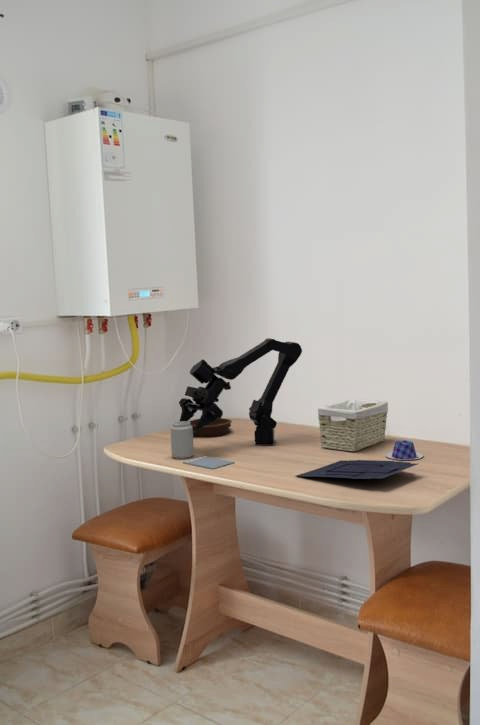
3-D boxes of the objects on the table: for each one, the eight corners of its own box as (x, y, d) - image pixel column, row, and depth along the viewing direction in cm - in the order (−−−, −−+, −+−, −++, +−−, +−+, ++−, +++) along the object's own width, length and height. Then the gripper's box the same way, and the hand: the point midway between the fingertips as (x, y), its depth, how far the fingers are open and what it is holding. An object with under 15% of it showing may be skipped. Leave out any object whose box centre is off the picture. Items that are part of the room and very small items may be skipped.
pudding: (428, 460, 246) (428, 444, 245) (392, 463, 244) (391, 447, 244) (415, 452, 258) (415, 437, 257) (381, 454, 256) (381, 439, 256)
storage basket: (351, 436, 285) (351, 397, 284) (390, 441, 275) (390, 400, 273) (316, 448, 267) (315, 407, 265) (357, 454, 257) (356, 411, 255)
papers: (379, 489, 210) (378, 476, 210) (295, 485, 231) (293, 473, 230) (424, 471, 228) (422, 459, 227) (342, 468, 248) (340, 457, 248)
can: (190, 459, 256) (189, 424, 255) (169, 459, 258) (167, 424, 256) (196, 454, 264) (194, 420, 262) (175, 454, 265) (173, 420, 264)
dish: (245, 432, 300) (244, 419, 299) (203, 441, 285) (202, 428, 284) (215, 426, 313) (214, 414, 312) (173, 435, 297) (172, 423, 297)
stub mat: (234, 463, 250) (234, 461, 250) (213, 469, 242) (213, 467, 242) (204, 457, 259) (204, 455, 259) (182, 463, 252) (182, 461, 252)
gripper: (182, 375, 270) (157, 410, 264) (215, 379, 256) (189, 416, 250) (200, 394, 276) (176, 429, 270) (233, 400, 262) (209, 436, 256)
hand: (187, 427), depth 261 cm, fingers open, 9 cm apart
